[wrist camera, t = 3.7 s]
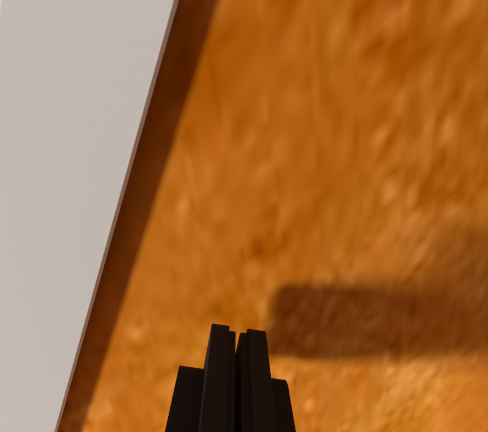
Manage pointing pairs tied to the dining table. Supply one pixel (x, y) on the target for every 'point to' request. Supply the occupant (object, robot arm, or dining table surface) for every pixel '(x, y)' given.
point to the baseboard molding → (64, 178)
